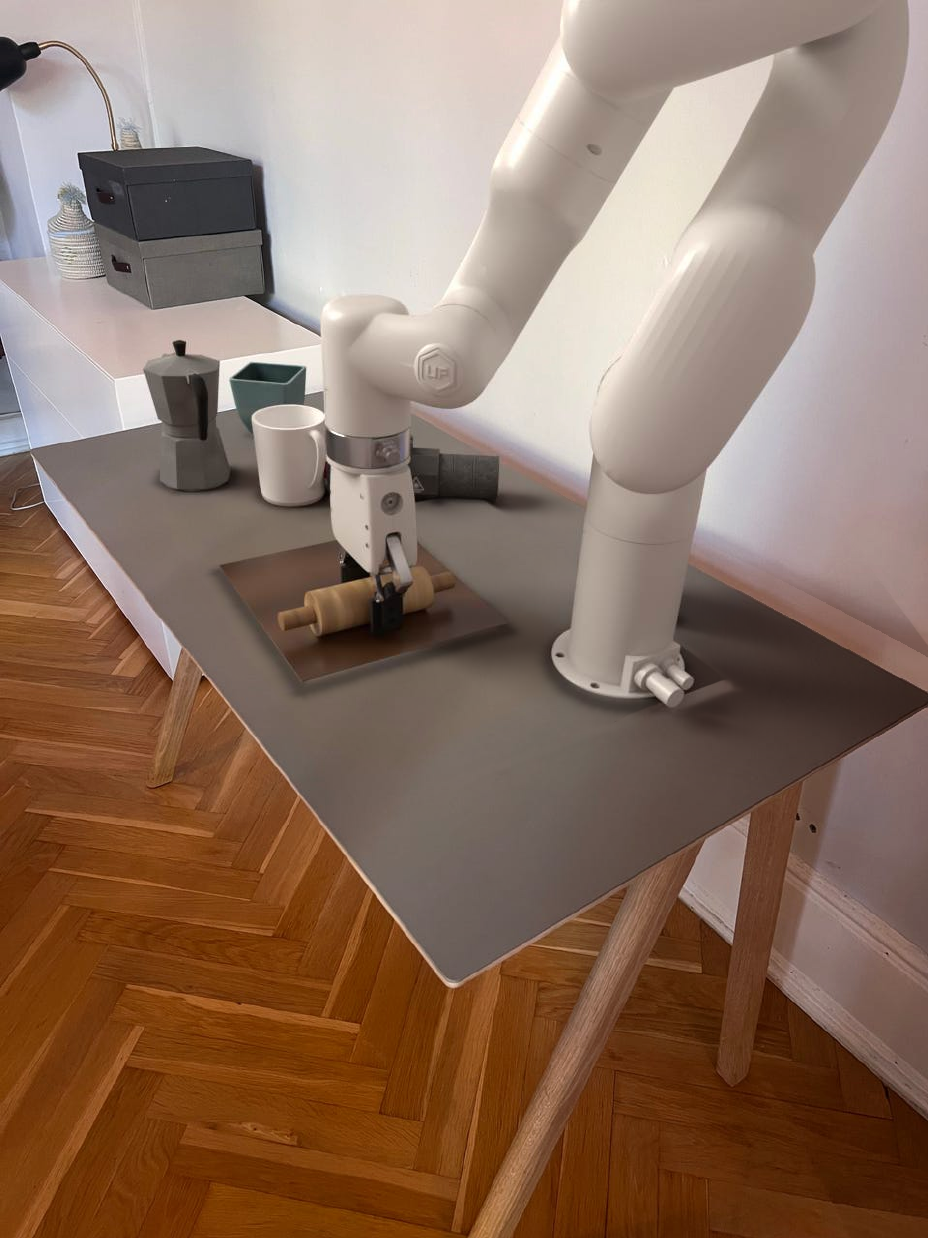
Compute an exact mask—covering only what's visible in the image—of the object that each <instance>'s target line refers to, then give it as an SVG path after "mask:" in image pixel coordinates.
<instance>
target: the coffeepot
mask: <svg viewBox="0 0 928 1238" xmlns="http://www.w3.org/2000/svg"><path fill="white" fill-rule="evenodd" d="M172 346H173V350H174V352H172V353H163V354H162V355H161V357H156V358H152V359H148V360H147V361H146V363H145V364H144V367H143V369H142V371H143V374H144V376H145V380H146V384H147V387H148V390H149V391H148V392H149V394H150V397H151V401H152V405H153V407H154V410H155V414H156V418H157V420H159V421H161V428H162V432H161V439H160V440H161V441H160V442H161V443H160V468H159V482H160V483H162V484H163V485H164V486H166V487H168V488H170V489H172V490H175V491H182V492H200V491H207V490H211V489H215V488H218V487H221V486H223V485H224V484H225V483H227V482H228V481H229V479H230V473H231V468H230V464H229V461H228V458H227V453H226V449H225V445H224V443H223V438H222V435H221V433H220V429H219V428H218V426H217V420H216V418H217V416H218V409H219V389H220V388H219V387H220V366H221V364H220V363H221V360H219V359H216V358H212V357H209V356H206V355H203V354H193V353H192V354H189V353H186V352H187V341H186V340H181V339H176V340H173V341H172Z"/></svg>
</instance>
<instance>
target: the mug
mask: <svg viewBox="0 0 928 1238" xmlns="http://www.w3.org/2000/svg"><path fill="white" fill-rule="evenodd" d="M252 427H253V434H254V435H253V434H252V435H253V442H254V448H255V455H256V465H257V470H258V477H259V486H260V493H261V496H262V498H263V499H264V501H266V502H267V503H269V504H271V505H275V506H279V507H288V508H291V507H292V508H293V507H297V508H298V507H303V506H308V505H309V506H310V505H311V504H314V503H317V502H319V501H320V500H321V499H323V496H324V495H325V493H326V492H325V491H326V489H325V488H326V479H325V478H324V468H325V461H326V460H327V459H326V434H325V415H324V411H322V410H320V409H318V408H316V407H312V406H308V405H304V404H303V405H277V406H271V407H266V408H263V409H260V410H258V411H256V412H255V413H254V414H253V415H252Z"/></svg>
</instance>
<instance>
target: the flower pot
mask: <svg viewBox="0 0 928 1238" xmlns="http://www.w3.org/2000/svg"><path fill="white" fill-rule="evenodd" d="M228 381H229V385H230V389H231V394H232V397H233V402H234V406H235V410H236V412H237V415H238V417H239V419H240V421H241V422H242V424H243V425H244V427H245V428H246V429H247V430H248V432H249V433H250V434H251V435H253V436H254V434H253V427H252V415H253V414H254V413H255V412H256V411H258V410H260V409H263V408H266V407H271V406H277V405H303V406H304V404H305V397H306V382H307V366H305V365H299V364H298V365H297V364H285V363H272V362H262V361H261V362H259V361H250V362H248V363H247V364H245V365H244V366H243V367H242V368H240V369H239V370H238V371H237V372H236V373H235V374H233V375H232V376H230V377H229V379H228Z"/></svg>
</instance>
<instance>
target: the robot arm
mask: <svg viewBox="0 0 928 1238" xmlns="http://www.w3.org/2000/svg"><path fill="white" fill-rule="evenodd" d="M559 23H560V24H559V31H560V33H559V35H558V36H557V39H556V40H555V42H554V44H553V47H552V49H551V51H550V52H549V55H548V57H547V60H546V61H545V63H544V65H543V67H542V68H541V71H540V73H539V75H538V77H537V78H536V81H535V82H534V85H533V86H532V88H531V90H530V92H529V94H528V95H527V97H526V100H525V102H524V104H523V106H522V107H521V109H520V112H519V113H518V115H517V117H516V119H515V120H514V122H513V125H512V126H511V128H510V130H509V132H508V134H507V136H506V138H505V139H504V141H503V143H502V145H501V147H500V148H499V150H498V152H497V155H496V157H495V159H494V162H493V166H492V169H491V172H490V177H489V192H488V193H489V195H488V201H487V205H486V208H485V211H484V215H483V217H482V220H481V222H480V224H479V228H478V230H477V232H476V235H475V236H474V239H473V240H472V243H471V245H470V247H469V248H468V251H467V253H466V255H465V256H464V258H463V260H462V262H461V263H460V266H459V267H458V269H457V271H456V273H455V274H454V277H453V279H452V280H451V282H450V284H449V286H448V287H447V290H446V291H445V293H444V295H443V296H442V297H441V299H440V301H439V302H438V303H436V304H435V305H434V306H433V307H432V308H431V309H430V310H427V311H425V312H422V313H419V314H410V311H409V309H408V308H407V307H406V305H405V304H404V303H403V302H401V301H400V300H398V299H396V298H393V297H389V296H385V295H381V294H380V295H379V294H364V293H363V294H362V293H360V294H359V293H358V294H348V295H343V296H339V297H335V298H333V299H331V300H329V301H328V302H327V303H326V304H325V305H324V307H323V308H322V310H321V314H320V347H321V367H322V368H321V371H322V386H323V387H322V391H323V392H322V393H323V413H324V415H325V445H326V459H325V460H326V461H327V462H328V463H329V464H330V465H331V477H330V493H329V495H330V496H329V503H330V505H329V506H330V522H331V528H332V529H331V530H332V533H333V536H334V538H335V540H337V541H338V542H339V544H340V550H339V561H340V563H341V564H345V565H343V566H340V569H341V584H343V583H347V582H351V581H356V580H360V579H364V578H368V577H371V583H372V588H373V593H374V598H371V599H370V616H371V633H372V634H373V635H374V636H379V635H383V634H386V633H390V632H394V631H398V630H401V629H402V628H403V597H405V592H407V589H408V588H409V587H410V586H411V585H412V584H413V578H412V575H411V572H410V569H409V566H410V567H413V566H415V565H416V562H417V542H418V534H417V533H418V532H417V530H418V529H417V512H416V501H415V499H414V491H413V484H412V478H411V472H410V468H409V467H408V465H407V464H408V463H409V462H410V435H411V430H412V429H411V427H412V425H411V423H412V422H411V421H412V402H414V403H418V404H420V405H424V406H426V407H431V408H437V409H441V410H453V409H460V408H463V407H465V406H468V405H470V404H471V403H473V402H475V401H476V400H477V399H478V398H479V397H480V396H481V395H482V394H483V393H484V391H485V390H486V388H487V386H488V385H489V384H490V383H491V381H492V379H494V376H495V375H496V373H497V371H498V370H499V369H500V367H501V366H502V364H503V363H504V362H505V360H506V359H507V357H508V355H509V354H510V352H511V350H512V349H513V347H514V345H515V344H516V343H517V340H518V339H519V337H520V335H521V334H522V332H523V330H524V328H525V327H526V325H527V323H528V322H529V320H530V319H531V317H532V315H533V314H534V312H535V310H536V308H537V307H538V305H539V304H540V301H541V300H542V298H543V297H544V295H545V293H546V292H547V290H548V289H549V287H550V285H551V283H552V282H553V281H554V278H555V277H556V275H557V273H558V272H559V270H560V268H561V267H562V265H563V264H564V262H565V261H566V260H567V258H568V256H569V255H570V254H571V253H572V252H573V251H574V249H575V248H576V247H577V246H578V245H579V244H580V243H581V242H582V240H583V239H584V238H585V236H586V235H587V233H588V231H589V229H590V227H592V224H593V223H594V221H595V220H596V218H597V216H598V215H599V213H600V211H601V210H602V208H603V206H604V205H605V203H606V201H607V199H608V198H609V196H610V194H611V193H612V191H613V190H614V188H615V186H616V185H617V183H618V181H619V179H620V178H621V176H622V174H623V173H624V171H625V169H626V168H627V166H628V165H629V163H630V161H631V159H632V158H633V157H634V154H635V153H636V151H637V150H638V148H639V146H640V145H641V143H642V142H643V140H644V138H645V137H646V135H647V133H648V132H649V130H650V128H651V126H652V125H653V123H654V122H655V120H656V118H657V117H658V116H659V113H660V112H661V110H662V109H663V106H664V105H665V104H666V102H667V101H668V99H669V96H671V93H672V92H673V90H674V89H675V88H678V87H682V86H685V85H687V84H690V83H695V82H697V81H701V80H703V79H707V78H710V77H712V76H716V75H718V74H721V73H724V72H727V71H730V70H733V69H736V68H739V67H741V66H744V65H747V64H750V63H753V62H756V61H758V60H761V59H765V58H767V57H770V56H773V59H772V64H771V69H770V73H769V76H768V78H767V81H766V84H765V87H764V88H763V91H762V94H761V95H760V97H759V99H758V101H757V103H756V105H755V107H754V109H753V111H752V113H751V114H750V116H749V118H748V120H747V122H746V124H745V126H744V128H743V130H742V132H741V134H740V137H739V138H738V141H737V142H736V145H735V147H734V148H733V150H732V152H731V154H730V155H729V157H728V159H727V161H726V162H725V165H724V167H723V168H722V169H721V171H720V174H719V175H718V177H717V179H716V180H715V182H714V184H713V186H712V187H711V190H710V191H709V192H708V194H707V196H706V197H705V200H704V201H703V202H702V204H701V206H700V208H699V209H698V210H697V212H696V213H695V215H694V217H693V218H692V220H691V221H690V222H689V223H688V225H687V226H686V227H685V229H684V230H683V231H682V233H681V235H680V236H679V238H678V241H677V242H676V244H675V247H674V248H673V253H672V256H671V260H670V262H669V268H668V270H667V272H666V274H665V275H664V278H663V280H662V282H661V283H660V285H659V287H658V290H657V291H656V293H655V295H654V297H653V298H652V300H651V302H650V304H649V305H648V308H647V309H646V312H645V313H644V315H643V317H642V319H641V321H640V323H639V324H638V326H637V328H636V330H635V332H634V333H633V335H632V336H631V337H629V338H627V340H625V341H623V343H621V345H620V346H619V347H617V349H616V350H615V351H614V353H613V354H612V356H611V357H610V358H609V361H608V362H607V364H606V366H605V368H604V371H603V373H602V376H601V379H600V381H599V385H598V388H597V392H596V396H595V399H594V402H593V406H592V409H591V413H590V417H589V441H590V445H591V447H590V448H591V450H592V460H591V465H590V466H591V467H590V474H589V482H588V490H587V497H586V505H585V511H584V516H583V525H582V526H583V527H582V533H581V534H582V535H581V541H580V550H579V557H578V566H577V574H576V582H575V591H574V598H573V604H572V605H573V606H572V614H571V623H570V628H568V629H567V630H565V631H563V632H562V633H560V635H558V636H557V638H556V639H555V640H554V641H553V644H552V647H551V652H550V653H551V660H552V663H553V665H554V667H555V669H556V670H557V671H558V672H559V674H560V675H562V677H564V678H565V679H566V680H567V681H569V682H570V683H572V684H573V685H575V686H577V687H579V688H581V689H582V690H585V691H587V692H589V693H593V694H595V695H598V696H603V697H607V698H614V699H623V700H641V699H647V698H654V697H656V698H657V699H658V700H659V701H660V702H662V703H663V704H664V705H665V706H667V707H668V708H671V709H672V708H675V707H677V706H678V705H680V703H681V702H682V701H683V699H684V697H685V691H688V690H689V689H690V688H692V687H693V685H694V682H695V678H694V677H693V676H691V675H690V674H689V673H688V672H686V671H685V669H686V667H685V661H684V659H683V657H682V654H681V653H680V652H681V644H679V643H678V642H676V641H675V640H674V637H675V633H676V628H677V627H676V626H677V621H678V617H679V612H680V606H681V603H682V597H683V592H684V588H685V587H684V586H685V583H686V576H687V572H688V566H689V561H690V556H691V552H692V548H693V547H692V546H693V541H694V537H695V531H696V528H697V524H698V519H699V514H700V508H701V502H702V499H703V493H704V487H705V482H706V476H707V472H708V471H707V470H708V468H710V466H711V465H712V464H713V463H714V462H715V460H716V459H717V458H718V457H719V455H720V453H721V452H722V451H723V449H724V448H725V447H726V445H727V444H728V443H729V441H730V440H731V438H732V437H733V435H734V434H735V432H736V431H737V429H738V428H739V426H740V425H741V423H742V422H743V421H744V419H745V417H746V416H747V414H748V413H749V412H750V410H751V408H752V407H753V406H754V404H755V403H756V401H757V399H758V398H759V397H760V395H761V393H762V392H763V390H764V389H765V388H766V386H767V384H768V383H769V382H770V380H771V378H772V377H773V375H774V374H775V372H776V371H777V370H778V368H779V366H780V365H781V363H782V362H783V360H784V358H785V357H786V355H787V354H788V352H789V351H790V349H791V347H792V346H793V344H794V343H795V341H796V339H797V338H798V336H799V334H800V332H801V331H802V328H803V326H804V325H805V321H806V319H807V317H808V315H809V313H810V309H811V306H812V304H813V300H814V296H815V291H816V283H817V281H816V277H817V275H816V263H815V259H814V256H813V255H814V254H815V252H816V250H817V248H818V246H819V244H820V243H821V242H822V240H823V238H824V236H825V234H826V233H827V231H828V229H829V228H830V226H831V224H832V222H833V221H834V219H835V218H836V216H837V214H838V213H839V212H840V210H841V208H842V206H843V205H844V203H845V201H846V200H847V199H848V196H849V195H850V193H851V191H852V189H853V187H854V186H855V184H856V182H857V180H858V179H859V177H860V176H861V174H862V172H863V170H864V169H865V167H866V166H867V164H868V163H869V161H870V159H871V158H872V155H873V154H874V151H875V150H876V148H877V147H878V144H879V143H880V141H881V139H882V137H883V135H884V133H885V131H886V129H887V127H888V125H889V123H890V120H891V119H892V116H893V113H894V111H895V109H896V105H897V102H898V100H899V97H900V94H901V91H902V87H903V84H904V79H905V74H906V69H907V63H908V56H909V48H910V47H909V45H910V11H909V0H563V2H562V6H561V10H560V22H559ZM383 560H388V562H389V565H386V566H382V567H379V565H380V564H382V562H383ZM391 572H392V576H393V578H392V581H391V582H388V583H386V584H385V585H384V586H383V587H382V583H381V577H380V575H383V574H387V573H391ZM557 655H561V656H562V657H559V656H557ZM593 686H597V687H593Z"/></svg>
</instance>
